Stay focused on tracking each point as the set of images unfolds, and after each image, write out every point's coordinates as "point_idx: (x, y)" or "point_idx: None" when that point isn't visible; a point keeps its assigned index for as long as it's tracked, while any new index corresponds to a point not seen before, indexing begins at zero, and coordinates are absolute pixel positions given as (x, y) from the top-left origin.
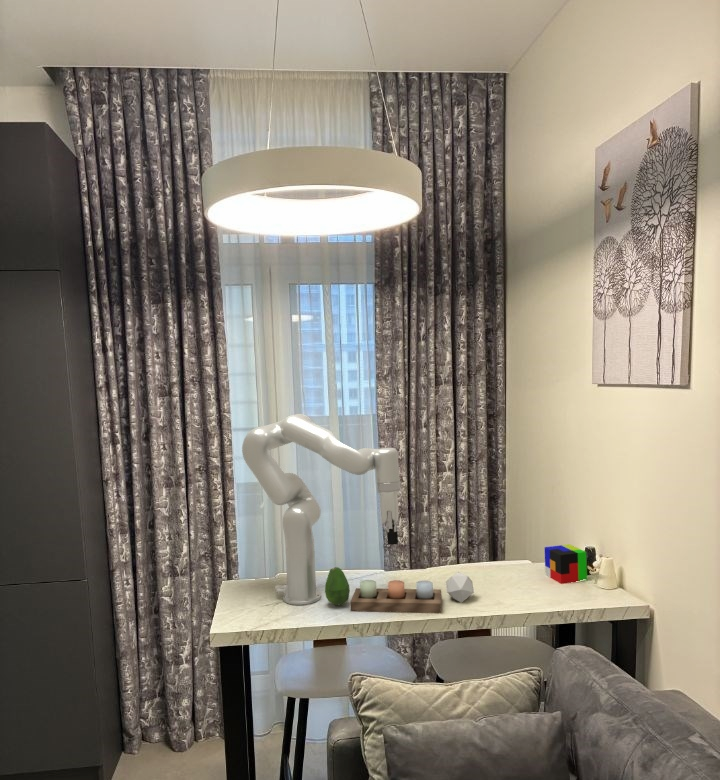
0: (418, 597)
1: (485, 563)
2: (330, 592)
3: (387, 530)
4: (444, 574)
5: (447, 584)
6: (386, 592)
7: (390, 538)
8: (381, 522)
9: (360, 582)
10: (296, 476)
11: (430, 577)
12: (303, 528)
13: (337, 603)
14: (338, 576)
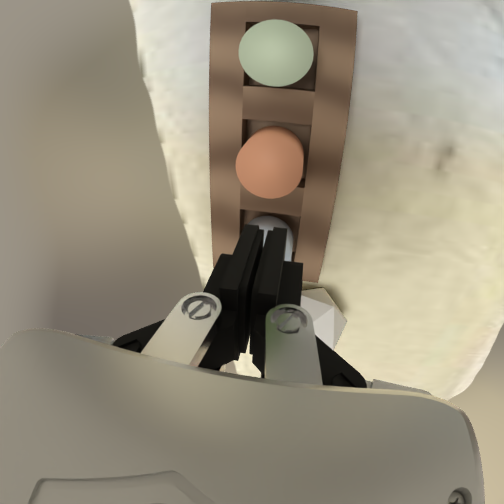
0: (252, 220)
1: (484, 356)
2: None
3: (172, 310)
4: (474, 291)
5: (310, 306)
6: (306, 119)
7: (214, 273)
8: (9, 337)
9: (277, 21)
10: None
11: (471, 260)
12: None
13: None
14: None
